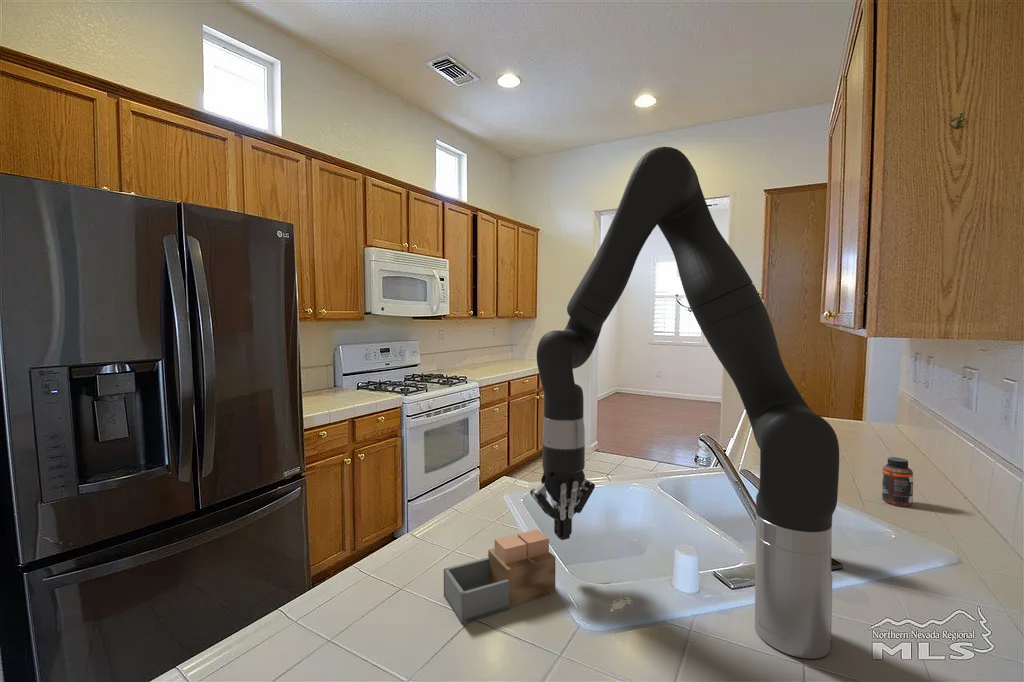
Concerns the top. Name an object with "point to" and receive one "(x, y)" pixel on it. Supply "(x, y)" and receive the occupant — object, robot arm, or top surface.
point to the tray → (474, 591)
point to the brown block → (524, 576)
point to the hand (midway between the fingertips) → (563, 537)
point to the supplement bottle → (897, 482)
